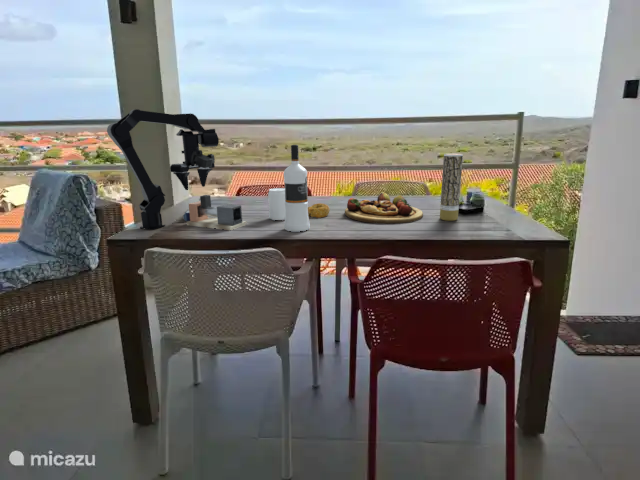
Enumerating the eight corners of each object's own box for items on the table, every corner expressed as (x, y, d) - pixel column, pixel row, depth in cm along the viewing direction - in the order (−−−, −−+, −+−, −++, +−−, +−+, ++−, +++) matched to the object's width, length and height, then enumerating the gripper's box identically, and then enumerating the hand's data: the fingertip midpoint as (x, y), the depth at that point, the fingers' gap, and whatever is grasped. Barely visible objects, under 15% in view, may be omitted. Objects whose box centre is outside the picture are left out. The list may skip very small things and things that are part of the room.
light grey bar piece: (180, 212, 162) (199, 193, 185) (183, 227, 165) (201, 207, 188) (193, 212, 162) (210, 193, 185) (196, 227, 165) (212, 207, 188)
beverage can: (265, 220, 163) (263, 190, 160) (276, 216, 170) (275, 187, 167) (282, 222, 160) (281, 191, 156) (293, 217, 167) (292, 188, 163)
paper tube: (458, 221, 156) (464, 154, 149) (440, 221, 157) (444, 154, 150) (456, 217, 162) (461, 153, 155) (438, 217, 163) (443, 153, 157)
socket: (207, 218, 162) (206, 201, 160) (197, 221, 157) (195, 204, 155) (201, 217, 164) (199, 201, 162) (190, 221, 158) (188, 203, 157)
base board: (247, 224, 157) (246, 221, 156) (230, 230, 148) (230, 227, 148) (204, 219, 166) (204, 216, 165) (186, 225, 157) (186, 222, 157)
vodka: (289, 225, 154) (286, 144, 145) (313, 227, 151) (311, 143, 143) (280, 231, 145) (277, 145, 137) (305, 233, 143) (303, 145, 134)
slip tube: (230, 216, 155) (229, 196, 153) (224, 218, 152) (222, 198, 150) (199, 213, 162) (197, 194, 160) (193, 215, 159) (191, 195, 156)
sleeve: (242, 222, 155) (241, 205, 153) (233, 225, 150) (231, 208, 148) (227, 220, 158) (226, 204, 156) (218, 224, 153) (216, 206, 151)
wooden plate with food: (337, 222, 158) (338, 201, 156) (351, 206, 188) (351, 188, 185) (422, 228, 151) (424, 206, 149) (422, 209, 181) (424, 191, 178)
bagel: (302, 213, 175) (302, 202, 173) (328, 212, 176) (328, 202, 174) (304, 219, 165) (303, 207, 164) (331, 218, 166) (331, 206, 165)
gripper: (189, 149, 145) (194, 193, 149) (223, 146, 161) (226, 186, 166) (166, 149, 150) (171, 191, 154) (201, 146, 166) (205, 184, 170)
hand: (195, 188), depth 161 cm, fingers open, 9 cm apart
